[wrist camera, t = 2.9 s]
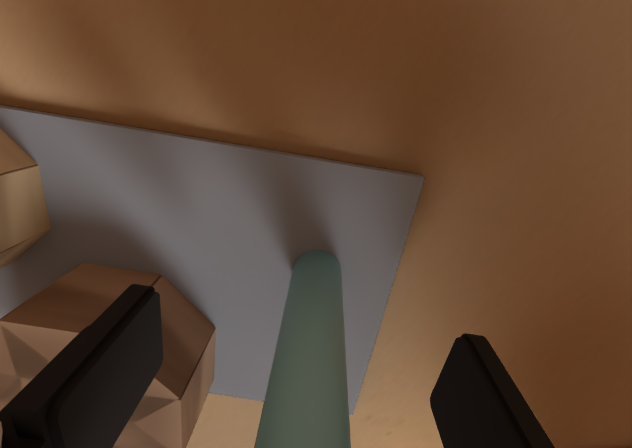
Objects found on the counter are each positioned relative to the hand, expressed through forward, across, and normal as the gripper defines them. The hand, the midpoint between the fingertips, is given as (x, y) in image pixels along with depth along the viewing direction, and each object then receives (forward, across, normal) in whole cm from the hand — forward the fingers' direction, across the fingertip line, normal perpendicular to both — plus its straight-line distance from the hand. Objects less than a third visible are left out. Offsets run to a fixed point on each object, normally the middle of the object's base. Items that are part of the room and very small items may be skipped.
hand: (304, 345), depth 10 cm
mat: (+5, +8, +2) cm, 10 cm away
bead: (+5, +9, +6) cm, 12 cm away
